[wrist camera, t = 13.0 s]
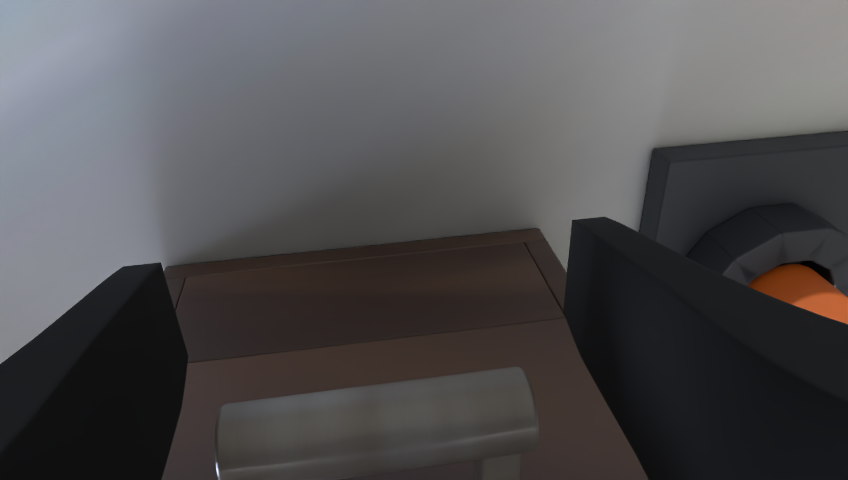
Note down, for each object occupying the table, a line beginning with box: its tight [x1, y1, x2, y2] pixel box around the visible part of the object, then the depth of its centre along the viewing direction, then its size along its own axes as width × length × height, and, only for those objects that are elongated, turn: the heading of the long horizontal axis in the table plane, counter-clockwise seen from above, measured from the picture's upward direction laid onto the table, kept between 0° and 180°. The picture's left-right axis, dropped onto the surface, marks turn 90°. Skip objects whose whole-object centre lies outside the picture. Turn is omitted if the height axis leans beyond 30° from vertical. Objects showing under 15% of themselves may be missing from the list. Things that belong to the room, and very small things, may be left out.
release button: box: [748, 264, 848, 324], centre depth 21 cm, size 3×3×2 cm
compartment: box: [164, 229, 567, 363], centre depth 22 cm, size 12×13×5 cm
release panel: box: [640, 131, 848, 297], centre depth 22 cm, size 10×8×3 cm
